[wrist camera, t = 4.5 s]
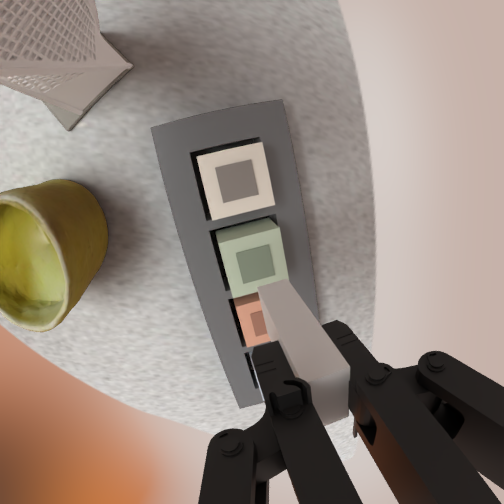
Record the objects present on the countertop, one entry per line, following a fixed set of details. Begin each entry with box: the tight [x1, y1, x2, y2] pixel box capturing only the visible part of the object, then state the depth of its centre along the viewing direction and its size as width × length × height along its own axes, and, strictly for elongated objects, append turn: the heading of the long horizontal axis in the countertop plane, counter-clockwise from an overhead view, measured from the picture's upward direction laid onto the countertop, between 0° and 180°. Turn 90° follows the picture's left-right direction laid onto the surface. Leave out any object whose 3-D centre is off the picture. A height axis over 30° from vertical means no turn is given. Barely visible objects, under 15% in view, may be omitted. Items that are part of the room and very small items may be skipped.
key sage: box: [215, 218, 289, 298], centre depth 20 cm, size 4×4×3 cm
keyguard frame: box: [151, 99, 319, 409], centre depth 23 cm, size 26×9×2 cm, turn 12°
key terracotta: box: [233, 292, 271, 347], centre depth 24 cm, size 4×4×3 cm
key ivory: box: [197, 142, 275, 221], centre depth 18 cm, size 4×4×3 cm
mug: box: [0, 179, 108, 332], centre depth 16 cm, size 12×10×10 cm
